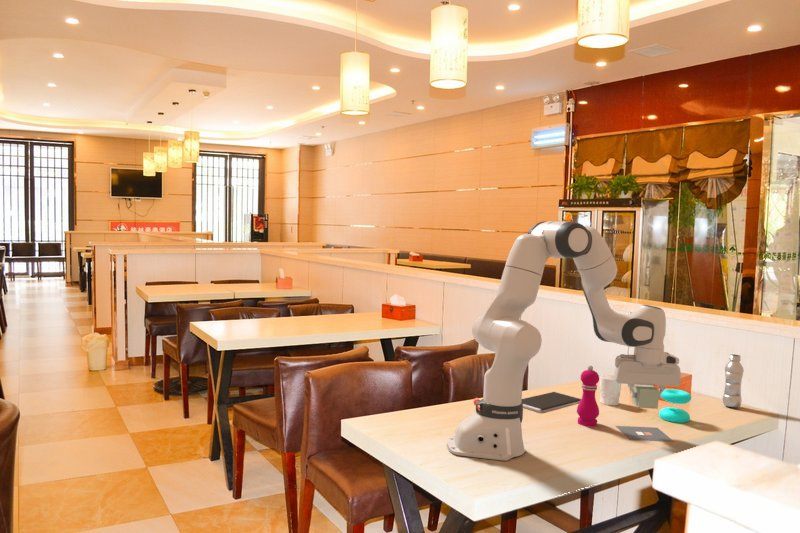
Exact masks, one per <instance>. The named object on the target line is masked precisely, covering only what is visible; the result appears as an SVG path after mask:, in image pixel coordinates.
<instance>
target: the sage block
mask: <svg viewBox="0 0 800 533" xmlns="http://www.w3.org/2000/svg"><path fill="white" fill-rule="evenodd" d="M632 388H633V390H634V392H637V398H632V397H631V402H632V404H634V405H635V407H637V408H639V409H640V408H641V409H655V410H658V408H659V388H658V387H657V388H656V387H655V385H639V384H634V387H632Z"/></svg>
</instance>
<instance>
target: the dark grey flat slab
mask: <svg viewBox="0 0 800 533" xmlns="http://www.w3.org/2000/svg"><path fill="white" fill-rule="evenodd" d="M581 399H582V398H579V397H575V396H572V395H569V394H565V393H560V392H557V391H551V392H548V393H543V394H537V395H534V396H530V397H524V398H522V403H523V410H529V411H532V412H535V413H538V414H539V413H540V414H542V413H546V412H550V411H554V410H556V409H560V408H563V407H564V406H565V407H569V406H572V405H575V403H576V404H579V403H580V401H581ZM578 402H579V403H578ZM571 404H572V405H571Z"/></svg>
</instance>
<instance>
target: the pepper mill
mask: <svg viewBox="0 0 800 533" xmlns="http://www.w3.org/2000/svg"><path fill="white" fill-rule="evenodd" d="M580 381H581V382H582V383H581V389H582V396H581V398H580V399H581V401H580V402H579V403H577V404H578V405H577V408H576V413H577V415H578V417H577V424H578V425H580V426H583V427H588V428H589V427H590V428H591V427H593V428H594V427H597V426H598V419H597V418H598V417H599V415H600V408H599V405H598V403H597V401H596V391H597V390H598V385H597V384H598V383H600V375H599V373H598V372H597V371H596V370H594V366H592V365H587V369H586V370H583V371H582V372H581V374H580Z"/></svg>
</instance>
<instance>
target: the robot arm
mask: <svg viewBox="0 0 800 533" xmlns="http://www.w3.org/2000/svg"><path fill="white" fill-rule="evenodd" d="M609 247H610V246H608V244H607V242H606V240H605V238H603V236H602V235H601V233H600V232H599V231H598V230H597V229H596V228H595V227H593V226H588V225H586V226H585V225H583V224H581V223H579V222H577V221H574V220H573V221H571V220H570V221H564V220H559V219H557V220H548V221H540V222H538V223H535V224H534V225H533V226H531V227H530V228H529V229H528V232H527V233H523V234H521V235H519V236H517V238H516V239H515V240H514V242H513V244H512V247H511V248H510V251H509V253H508V256H507V258H506V262H505V266H504V269H503V270H502V274H501V278H500V282H499V286H498V288H497V291H496V293H495V295H494V297H493V299H492V300H491V302H490V304H489V306H488V307H487V309H486V310H485V311H484V312H483V313H482V314H481V315H479V316H478V317H477V318H476V319H475V321H474V322H473V325H472V330H471V332H472V336H473V339H474V340H475V341H476V342H477V343H478V344H479V345H480V346H481V347H483V348H484V349H485V350H489V351H492V352H494V359H493V363H492V364H491V367H490V368H489V369H487V370H486V371H485V373H484V378H483V396H482V397H483V398H482V399H479V397H475V398H474V399H473V401H472V402H473V405H474V406H475V411H474V413H471V414H470V415H469V416H467V417H465V419H464V418H463V420H461V421H460V422H459V423H458V425H457V426H456V431H455V434H454V435H451V436H450V437H449V438H448V439H447V444H446V447H447V450H448V451H449V452H450V453H451V454H453V455H456V456H461V457H469V458H478V459H480V458H481V459H485V460H486V459H489V460H495V461H509V460H510V459H512V458H516V457H519V456H522V455H524V453H525V452H526V449H525V445H524V439H523V431H522V422H523V418H524V408H523V403H522V399H523V385H524V377H525V376H524V375H525V373H526V370H527V367H528V365H529V363H530V361H531V359H533V358H534V357H535V356H536V355H537V354H538V353H539V351H540V350H541V347H542V343H543V342H542V334H541V332H540V330H539V329H538V328H537V327H536V326H534V325H533V324H531V323H530V322H528V321H526V320H523V319H521V317H522V316H523V314H524V312H525V311H526V310H527V309H528V308H529V307H530V306H532V305H533V304H535V302H536V299H537V296H538V293H539V289H540V286H541V281H542V278H543V275H544V274H543V273H544V270H545V265H546V263H547V262H548V260H549V259H550V258H553V259H572V260H573V262H574V264H575V267H576V268H577V271H578V273H579V275H580V278H581V280H580V284H581V288H582V291H583V292H582V293H583V295H584V297H585V300H586V303H587V306H588V309H589V311H590V314H591V317H592V325H593V330H594V331H593V332H594V334H595V336H596V337H597V338H598V339H599V340H600V341H601V342H602V341H603V342H607V343H613V344H616V345H617V344H618V345H620V346H626V347H630V348H634V349H633V354H625V353H623V354H622V353H620V354H619V355H617V356H616V357H615V359H614V360H615V361H614V366H615V368H614V374H613V376H614V379H615V381H616V382H618V383H621V385H622V384H627V387H628V390H629V391H630V398H631V399H632V398H637V392H634V390H633V387H634V384H635V385H652V386H656V387H657V389H658V390H659V399H658V401H659V400H661V394H662V392H663V391H664V390H665V389H666V387H674V388H675V387H676V388H677V387H679V386H680V385H681V383H682V382H681V380H682V379H681V377H682V376H681V368H680V366H679V364H680V359H679V357H677V356H675V355H674V354H670V353H669V352H667V351H665V344H664V341H665V340H664V339H665V336H666V331H667V330H666V329H667V328H666V327H667V324H666V322H667V320H666V319H667V318H666V313H665V310H664V309H662V308H661V307H658V306H653V305H650V304H640V305H639V306H638V308H637V309H635V311H632V312H631V313H628V314H624V313H618V312H616V311H615V310H613V309H612V308H611V306H610V303H609V301H608V297H607V296H606V292H605V288H606V287H607V286H608V285H609V284H611V283H612V282H613V281H614V280H615V278H616V276H617V274H618V266H617V262H616V259H615V258H614V255H613V253H612V252H611V249H610V248H609Z"/></svg>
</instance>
